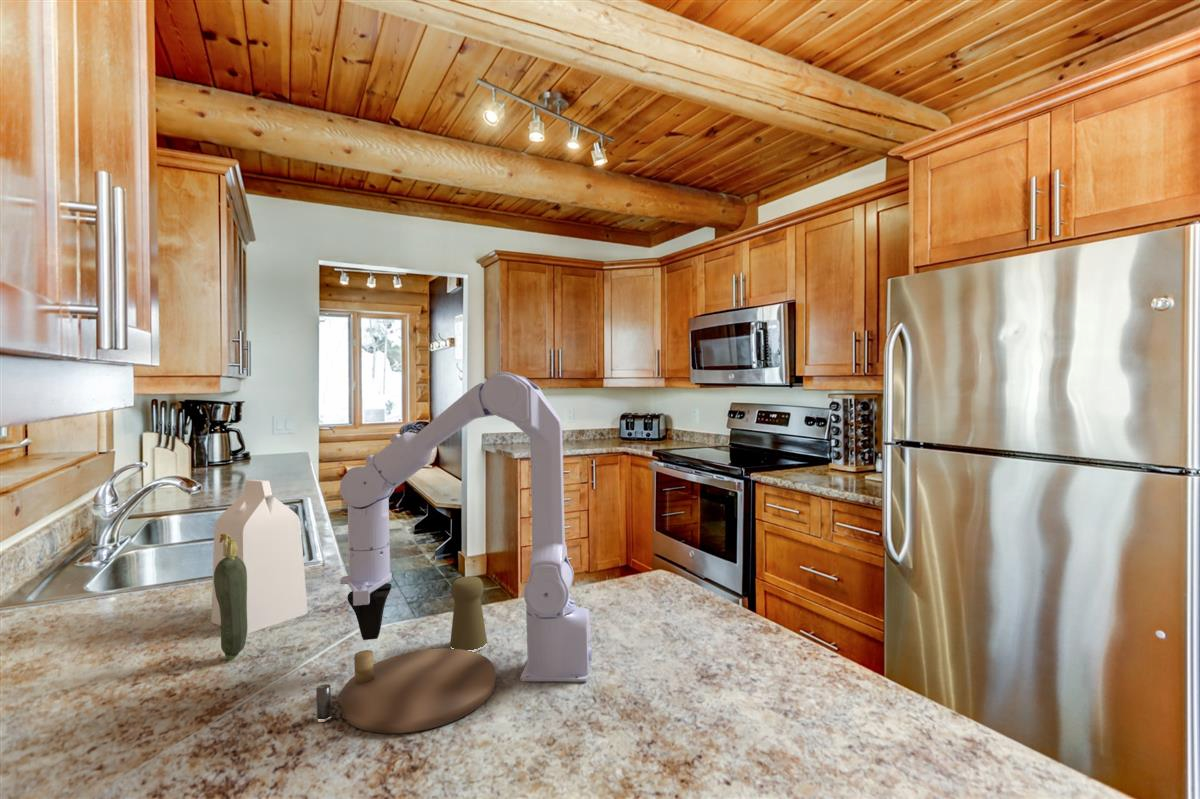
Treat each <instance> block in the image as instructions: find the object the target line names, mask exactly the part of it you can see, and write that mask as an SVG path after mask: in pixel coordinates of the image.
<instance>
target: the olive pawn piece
mask: <svg viewBox="0 0 1200 799" xmlns="http://www.w3.org/2000/svg"><path fill="white" fill-rule="evenodd" d="M484 590H485V588H484V583H483V581H482V579H481V578H480V577H478V576H471V575H469V576H461V577H459V578H456V579H455V580H454V581H453V582H452V584H451V587H450V593H451V597H452V599H453V600H454V605H453V613H452V623H451V632H450V633H451V634H450V642H449V647H450V646H451V647H452V648H454V649H462V650H467V651H468V650H474V649H478V648H480V647H483V646H484V645H485V644H486V643H487V644H488V639H487V631H486V625H485V618H484V613H483V607H482V601H481V600H482V599H481V598H482V595H483V594H484Z"/></svg>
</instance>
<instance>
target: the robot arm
mask: <svg viewBox="0 0 1200 799" xmlns="http://www.w3.org/2000/svg"><path fill="white" fill-rule="evenodd" d="M493 416H497V417H499V418H501V419H503V420H505V421H509V422H511V423H513V424H514V425H515V426H516V427H517V428H519V430H521V431H522V432H523V433H524V434H525V435H527V436H528V438H529V447H530V448H529V450H530V454H529V455H530V457H529V458H530V492H531V493H530V494H531V496H530V498H531V535H532V536H531V538H532V540H531V541H532V542H531V543H532V547H531V553H530V554H531V555H530V564H529V566H530V567H529V575H528V576H529V577H528V579H527V581H526V583H525V585H524V588H523V598H524V601H525V610H526V611H525V612H526V613H525V615H526V620H525V621H526V622H525V623H526V653H527V654H526V656H527V660H526V663H525V666H524V668H523V670H522V672H521V675H520V677H519V680H520V681H522V682H575V683H577V682H578V683H580V682H587V681H588V679H589V678H588V677H589V673H590V669H591V664H592V661H593V648H592V633H591V632H592V630H591V613H590V608H586V607H579V606H576V601H575V600H574V599H573V597H572V595H571V594H570V590H571V587H572V585H573V583H574V581H575V580H574V578H575V573H574V568H573V566H572V565H571V564H572V563H571V562H570V561H569V558H568V547H567V543H566V539H565V538H566V534H565V531H566V530H565V529H566V528H565V496H564V495H565V490H564V489H565V487H564V486H565V485H564V484H565V483H564V451H563V450H564V447H563V446H564V445H563V438H564V437H563V423H562V419H561V418H560V416H559V415H558V413H557V412H556V411H555V409H554V408H553V406H552V405H551V403H550V402H549V401H548V398H546V396H545V395H544V392H543V391H542V390H541V387H540V386H538V385H537V384H536V383H534V382H533V381H531V380H530V379H528V378H527V377H525V376H524V375H520V374H514V373H512V372H509V371H499V372H496V373H494V374H492V375H490V376H489V377H488V378H487V379H486V380H485V381H484V382H479V383H478V384H476V385H474V386H473V387H472V388H470V389H468V391H466V392H465V393H464V394H463V395H462V396H461V397H459V398H458V399H457V400H455V402H453V403H452V404H451V405H450V406H448V407H447V408H446V409H445V410H444V411H442V412H441V413H440V414H439V415H437V416H436V417H435V418H434V419H433V420H432V421H430V423H428V424H427V425H426V426H424V427H423V428H422V429H421V430H419V431H418V432H411V431H407V432H406V431H405V432H403V433H402V434H400V433H395V434H393V436H391V437H390V438H389V441H390V442H391V443H389V444H388V445H387V446H385V447H384V448H382V449H381V450H380V451H379V452H378V453H376V454H375V455H374V454H371V455H368V456H367V457H366V458H365V459H364V461H365V466H361V465H360V466H354V467H351V468H350V469H349V468H348V470H347V472H346V473H345V474H344V476H343V477H342V478H341V480H340V484H339V492H340V495H341V497H342V499H343V501H344V502H345V503H347V540H348V541H347V542H348V544H347V547H348V548H347V549H348V575H343V576H342V577H341V578H340V580H339V584H340V585H348V587H349V588H350V590H351V591H349V592H348V594H347V602H348V604H349V605H350V606H351V608H352V609H353V612H354V615H355V617H356V620H357V623H358V627H359V632H360V635H361V638H362V641H368V640H369V641H370V640H377V639H378V638H379V635H380V632H381V628H382V622H383V617H384V616H383V615H384V611H385V606H386V602H387V599H388V596H389V594H390V592H391V590H392V588H393V587H392V584H391V583H389V582H390V581H391V580H392V578H393V574H392V572H391V552H390V551H391V547H390V546H391V545H390V544H391V543H390V541H391V540H390V536H391V535H390V508H389V507H390V505H389V500H390V497H391V496H392V494H393V493H394V491H395V489H397V488H398V487H399V486H400V485H402V484H403V483H405V482H406V481H407V480H408V479H410V478H411V477H412V476H413V475H415V474H416V473H417V472H419V471H420V470H421V469H422V468H424V467H426V466H427V465H428V464H429V463H430V462H431V457H432V451H433V450H434V449H435V448H436V447H437V446H439V445H440V444H442V443H443V442H444V441H446V440H447V439H449V438H450V437H451V436H453V435H454V434H456V433H457V432H458V431H460V430H461V429H463V428H464V427H465V426H467V425H468V424H470V423H472V422H473V421H474V420H476V419H481V418H487V417H493Z"/></svg>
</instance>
